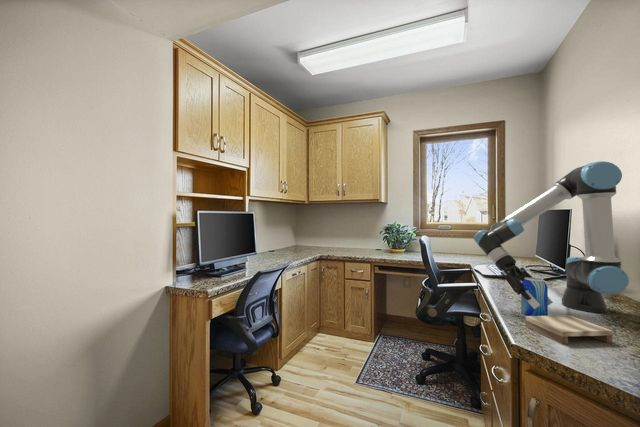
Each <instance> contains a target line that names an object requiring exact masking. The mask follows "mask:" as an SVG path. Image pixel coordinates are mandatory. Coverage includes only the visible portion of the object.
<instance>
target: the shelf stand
mask: <svg viewBox="0 0 640 427" xmlns="http://www.w3.org/2000/svg"><path fill="white" fill-rule="evenodd" d="M525 328H527V329H529V330H531V331H534V332H536V333H537V334H540V335H542V336H544V337H546V338H548V339H551V340H552V341H554V342H556V343H559V344H561V345H569V337H591V338H594V339H596V340H599V341H601V342H603V343H606V344H613V330H611V329H608V328H606V327H603V326H600V325H597V324H595V323H592V322H589V321H587V320H584V319H581V318H578V317H576V316H573V315H564V314H563V315H548V316H526V318H525Z"/></svg>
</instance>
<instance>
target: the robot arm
mask: <svg viewBox="0 0 640 427" xmlns="http://www.w3.org/2000/svg"><path fill="white" fill-rule="evenodd" d="M622 179H623V173H622V170H621V168H620V167H619V166H617V165H616V164H614V163H613V162H610V161H606V160H605V161H602V160H600V161H595V162H594V161H593V162H590V163H587V164H586V165H582V166H578V167H576V168H575V169H572V170H571V171H569V172H568V173H566V174H565V175H564V176H563V177H561V178H560V179H559V180H557V181H556V182H555V183H553V184H552V187H550V188H548V190H546V191H544V192H543V193H541V194H540V195H538V196H537V197H535V198H533V199H532V200H531V201H529V202H528V203H526V204H524V205H523V206H521V207H519V208H518V209H515V211H513V212H512V213H510V214H508V215H507V216H505V217H504V218H502V219H501V220H499V221H498V222H495V223H493V224H492V225H490V228H489V230H490V231H489V230H487V229H481V230H478V231H476V233H475V234H474V236H473V240H474V242H475V243H476V244H477V246H479V248H480V249H481V250H482V251H483V253H485V255H486V256H487V257H488V258H489V260H490V261H492V263H493V264H494V265H495V267H497V269H498V270H499V271H500V274H501V275H502V277H504V279H505V281H506V282H507V283H508V284H509V286H510V287H511V289H512V291H513V292H514V293H516V294H517V296H520V295H521V294H522V296H523V297H524V298H525V299H526V300H527V301H528V303H529V304H530V305H531V306H532V307H533V308H534V309H535V308H537V307H539V306H540V304H539V303H538V302H537V301H536V299H535V298H534V297H533V296H532V295H531V294H530V293H529V292H528V291H525V288H524V287H523V285H522V282H523V280H524V278H526V277H531V278H534V277H533V276H532V275H531V274H530V273H528V272H527V270H526V269H525V268H524V267H523V266H522V267H520V268H519V267H518V266H517V265H516V263H517V260H516V259H515V258H514V257H513V256H512V255H510V253H509V252H508V251H507V250H506V248H504V247H503V244H505V243H507V242H508V241H511V240H512V239H515V237H518V236H520V235H521V234H523V233H524V231H525V228H524V225H525V224H528V223H530V222H531V221H533V220H534V219H535V218H538V217H540V216H541V215H542V214H544V213H545V212H548V211H549V210H551V209H552V208H554V207H555V206H556V205H559V204H560V203H562V202H563V201H565V200H571V199H573V198H575V197H576V196H577V197H578V198H579V199H581V202H582V203H581V204H582V205H581V206H582V217H583V218H582V220H583V231H584V232H583V235H584V247H585V248H584V251H585V255H583V256H581V257H577V256H576V257H575V256H573V257H572V256H571V257H570V256H569V257H567V258H566V263H565V265H566V266H565V267H566V271H565V272H566V273H565V274H566V276H565V277H566V278H565V279H566V289H565V291H564V292H563V293H564V294H563V297H562V298H561V305H563V306H565V307H567V308H570V309H573V310H576V311H577V310H578V311H583V312H591V313H597V314H598V313H601V314H602V313H608V305H607V304H606V302H605V298H604V296H603V295H615V294H619V293H621V292H623V291H624V290H626V289H627V288H628V286H629V284H630V277H629V275H628V274H627V272H625V270H623V269H622V262H621V259H619V258H618V257H617V256H616V255H615V254H616V252H615V239H614V238H615V237H614V236H615V235H614V223H613V208H612V207H613V206H612V197H614V196H615V195H616V194H617V185H619V183H621V181H622ZM553 303H554V302H553V300H551V299H550V297H549V296H548V306H550V305H552V304H553Z"/></svg>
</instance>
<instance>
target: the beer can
mask: <svg viewBox="0 0 640 427" xmlns="http://www.w3.org/2000/svg"><path fill="white" fill-rule="evenodd" d="M521 283H522V285H523V287H524V288H525V291H528V292H529V293H530V294H531V295H532V296H533V297H534V298H535V299H536V301H537V302H538V303H539V304H540V306H539V307H537V308H535V309H534V308H533V307H532V306H531V305H530V304H529V303H528V301H527V300H526V299H525V298H524V297H523V296H522V294H520V295H521V296H520V297H521V298H520V300H521V305H520V306H521V309H520V310H521V315H522V316H523V318H525V319H526V316H549V315H548V313H549V312H548V308H549V307H548V306H549V305H548V297H549V296H548V291H549V290H548V288H549V287H548V285H547V283H546V280H545V279H543V278H538V277H533V278H531V277H526V278H524V280H523V281H521Z"/></svg>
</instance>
